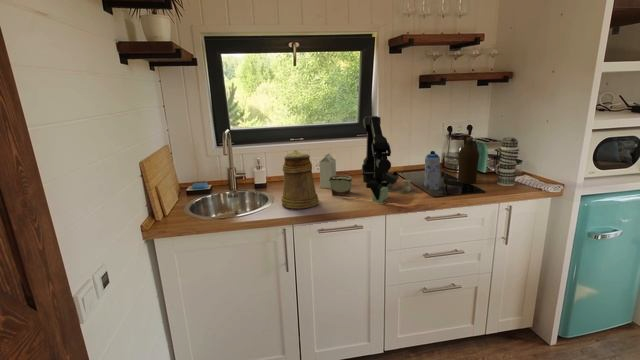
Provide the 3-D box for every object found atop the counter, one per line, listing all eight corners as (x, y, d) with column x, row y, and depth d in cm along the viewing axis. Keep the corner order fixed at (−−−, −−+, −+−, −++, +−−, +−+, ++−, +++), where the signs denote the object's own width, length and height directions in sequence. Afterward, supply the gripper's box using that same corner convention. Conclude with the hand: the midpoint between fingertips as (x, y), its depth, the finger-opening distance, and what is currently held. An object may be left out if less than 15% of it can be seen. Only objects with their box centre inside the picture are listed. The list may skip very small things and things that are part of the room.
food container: (355, 193, 183) (354, 175, 181) (352, 197, 178) (352, 178, 175) (332, 192, 187) (332, 174, 185) (329, 195, 182) (328, 177, 179)
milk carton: (320, 187, 197) (319, 154, 192) (325, 184, 203) (323, 152, 198) (332, 188, 194) (331, 155, 189) (336, 185, 200) (335, 152, 196)
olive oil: (464, 185, 190) (467, 139, 183) (452, 180, 200) (455, 137, 193) (481, 183, 192) (484, 138, 186) (469, 178, 202) (472, 135, 196)
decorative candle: (510, 187, 182) (515, 139, 176) (493, 184, 189) (497, 138, 183) (518, 183, 188) (523, 137, 181) (500, 180, 195) (504, 136, 188)
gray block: (377, 188, 185) (377, 176, 183) (382, 186, 189) (382, 174, 187) (387, 190, 182) (387, 177, 180) (391, 187, 186) (392, 175, 184)
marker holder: (371, 192, 184) (371, 179, 182) (380, 186, 193) (380, 174, 192) (411, 198, 172) (412, 184, 170) (419, 191, 181) (420, 178, 179)
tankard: (283, 211, 160) (279, 159, 154) (279, 197, 183) (275, 150, 176) (322, 207, 164) (319, 155, 157) (313, 193, 186) (310, 147, 180)
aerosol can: (426, 185, 193) (427, 149, 188) (440, 186, 188) (442, 150, 183) (421, 188, 187) (423, 152, 182) (436, 190, 182) (438, 153, 177)
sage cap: (372, 201, 169) (372, 188, 167) (377, 198, 173) (377, 186, 172) (383, 203, 166) (383, 190, 164) (387, 200, 170) (387, 187, 168)
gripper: (388, 172, 153) (388, 206, 157) (403, 164, 168) (403, 195, 172) (365, 170, 159) (365, 202, 163) (382, 162, 174) (382, 192, 178)
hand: (380, 198), depth 169 cm, fingers closed on sage cap, 6 cm apart
